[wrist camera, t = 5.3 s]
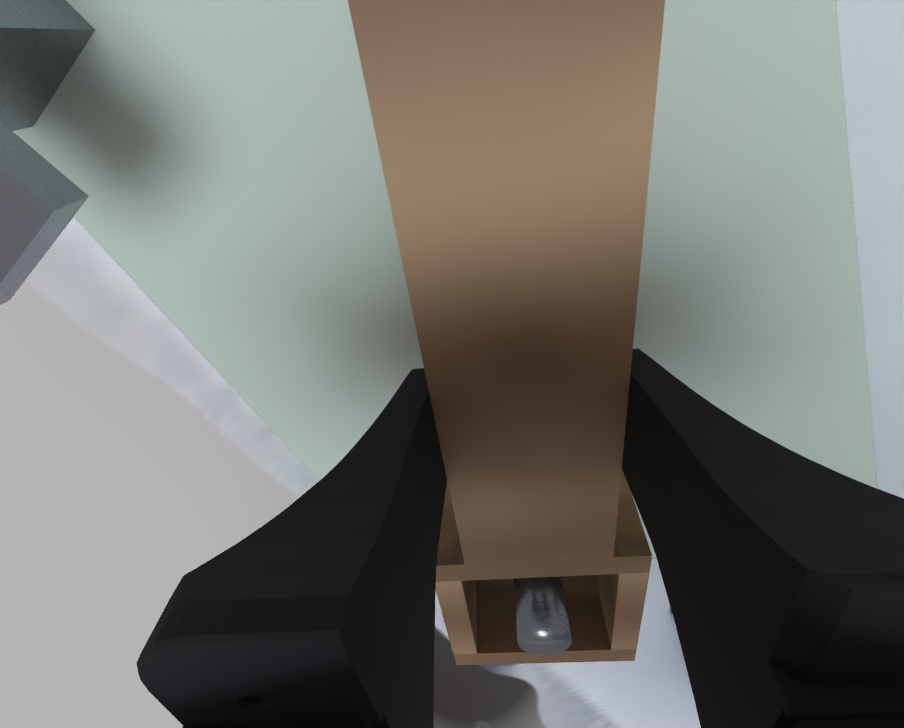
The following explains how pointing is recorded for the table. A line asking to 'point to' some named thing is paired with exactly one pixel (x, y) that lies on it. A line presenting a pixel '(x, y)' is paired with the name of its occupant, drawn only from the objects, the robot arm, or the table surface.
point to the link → (523, 292)
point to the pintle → (541, 615)
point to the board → (373, 232)
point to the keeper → (18, 107)
